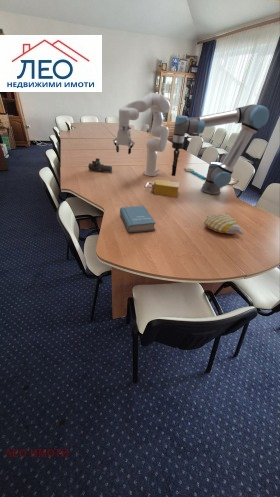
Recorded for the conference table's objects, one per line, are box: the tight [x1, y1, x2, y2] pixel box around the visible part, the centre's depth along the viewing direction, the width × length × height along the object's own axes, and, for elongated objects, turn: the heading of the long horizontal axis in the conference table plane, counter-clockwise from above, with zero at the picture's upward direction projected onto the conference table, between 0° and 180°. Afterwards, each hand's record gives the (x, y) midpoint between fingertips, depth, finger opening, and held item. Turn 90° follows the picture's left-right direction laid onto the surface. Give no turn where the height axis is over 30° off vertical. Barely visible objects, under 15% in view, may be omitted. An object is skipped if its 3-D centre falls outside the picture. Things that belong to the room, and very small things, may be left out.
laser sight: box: [88, 158, 113, 173], centre depth 208 cm, size 10×22×10 cm, turn 78°
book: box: [119, 205, 156, 233], centre depth 136 cm, size 23×16×5 cm
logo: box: [183, 167, 206, 180], centre depth 223 cm, size 34×10×1 cm, turn 16°
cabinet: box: [153, 179, 180, 198], centre depth 176 cm, size 18×11×8 cm, turn 77°
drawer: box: [143, 180, 156, 193], centre depth 176 cm, size 23×10×6 cm, turn 77°
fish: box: [203, 213, 245, 235], centre depth 133 cm, size 25×8×20 cm
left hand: (123, 152), depth 172 cm, fingers open, 9 cm apart
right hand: (173, 172), depth 164 cm, fingers open, 13 cm apart
